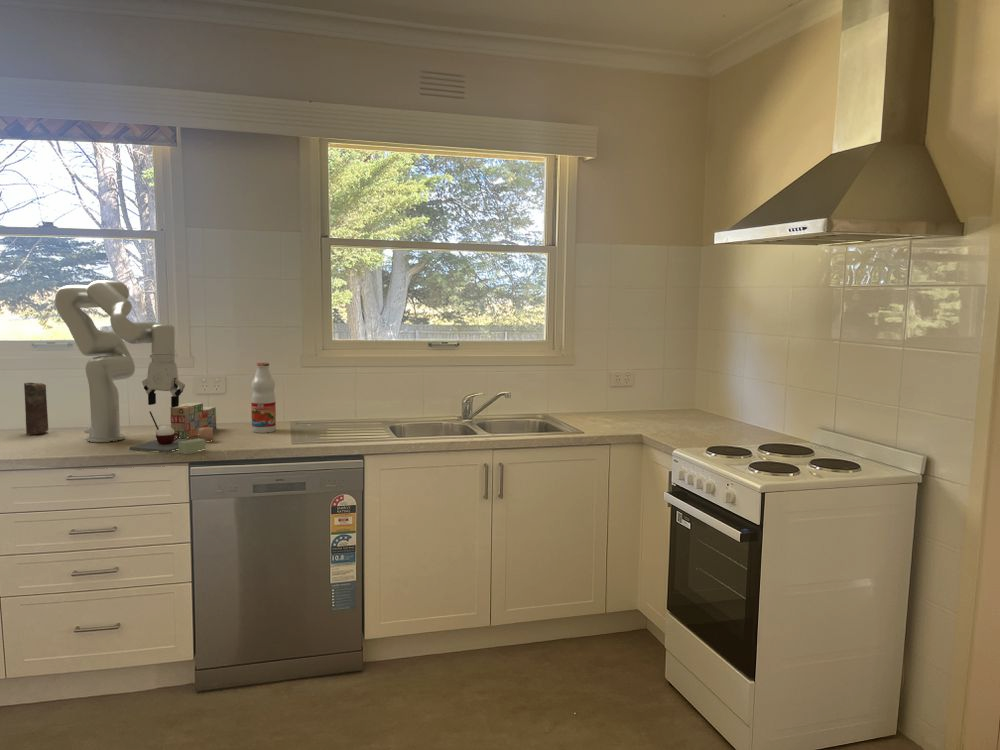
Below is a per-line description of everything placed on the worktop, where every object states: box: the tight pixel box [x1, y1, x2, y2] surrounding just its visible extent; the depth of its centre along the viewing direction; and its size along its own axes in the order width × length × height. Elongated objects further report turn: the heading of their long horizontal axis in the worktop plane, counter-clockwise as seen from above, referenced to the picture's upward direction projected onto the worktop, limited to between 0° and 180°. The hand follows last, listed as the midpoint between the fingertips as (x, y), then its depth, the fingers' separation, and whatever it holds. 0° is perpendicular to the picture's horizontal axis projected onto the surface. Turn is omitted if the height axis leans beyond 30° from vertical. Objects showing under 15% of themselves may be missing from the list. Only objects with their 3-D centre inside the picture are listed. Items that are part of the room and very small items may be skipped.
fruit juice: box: [250, 362, 277, 434], centre depth 297 cm, size 9×9×28 cm
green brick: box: [178, 437, 207, 455], centre depth 259 cm, size 4×8×4 cm, turn 146°
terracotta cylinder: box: [198, 427, 214, 441], centre depth 277 cm, size 5×5×5 cm
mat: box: [128, 438, 188, 454], centre depth 266 cm, size 16×18×1 cm
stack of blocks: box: [169, 402, 217, 439], centre depth 291 cm, size 21×6×12 cm, turn 170°
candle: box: [23, 382, 49, 436], centre depth 284 cm, size 8×7×20 cm
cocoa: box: [149, 410, 180, 445], centre depth 265 cm, size 10×6×12 cm, turn 97°
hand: (163, 405), depth 265 cm, fingers open, 9 cm apart
